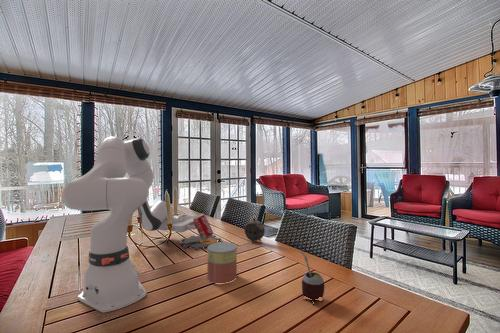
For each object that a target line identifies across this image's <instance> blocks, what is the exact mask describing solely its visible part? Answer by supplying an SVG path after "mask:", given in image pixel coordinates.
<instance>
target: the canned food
mask: <svg viewBox="0 0 500 333" xmlns="http://www.w3.org/2000/svg"><path fill="white" fill-rule="evenodd" d="M237 249H238V248H237V245H236V244H235V243H233V242H230V241H229V242H227V241H219V242H217V243H213V244H210V245H209V246H208V247H207V248H206V250H207V254H206V255H207V260H206V261H207V268H206V269H207V270H206V271H207V273H206V274H207V276H206V277H207V278H208V280H209V281H210V282H213V283H226V282H230V281H232V280H234V279H235V278H236V276H237V269H238V268H237V263H238V262H237V260H238V259H237V255H238V254H237ZM207 278H206V279H207ZM236 279H237V278H236ZM208 280H207V281H208ZM209 281H208V282H209ZM210 282H209V283H210Z"/></svg>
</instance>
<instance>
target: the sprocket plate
mask: <svg viewBox="0 0 500 333" xmlns="http://www.w3.org/2000/svg"><path fill="white" fill-rule="evenodd" d="M215 237H216V238H215ZM217 240H221V241H222V237H220V238H219V237H218V238H217V235H214V234H213V235H212V236H211V237H210V238H208V239H206V240H203V239H201V237H200V235H189V238H188V237H187V238H186V237H185V238H182V239H181V241H179V244H180V245H181V246H183V249H184V248H186V249H185V250H188V249H194V250H195V249H199V250H200V249H204V248H203V247H208V246H209V245H210V244H213V243H217ZM182 241H184V242H182ZM180 245H179V246H180ZM184 245H185V246H184ZM189 247H191V248H189ZM187 248H188V249H187Z"/></svg>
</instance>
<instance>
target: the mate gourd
mask: <svg viewBox="0 0 500 333" xmlns="http://www.w3.org/2000/svg"><path fill="white" fill-rule="evenodd" d="M299 252H300V253H301V254H302V255H303V257H304V261H305V263H306V266H307V270H308V272H306V273H305V274H304V275H303V276H302V279H301V291H302V292H301V293H302V295H303V296H302V297H304V296H306V297H308V298H310V299H312V300H313V302H314V300H315V299H318V298H319V297H322V298H324V297H323V296H324V294H325V280H324V278H323V276H322V275H321V274H320V273H318V272H314V271H313V272H311V267H310V264H309V262H308V257H307V256H306V254H305V253H304V252H303V251H302V249H301V248H300V249H299Z"/></svg>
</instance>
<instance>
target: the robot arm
mask: <svg viewBox="0 0 500 333" xmlns="http://www.w3.org/2000/svg"><path fill="white" fill-rule="evenodd" d="M149 156H150V147H149V145H148V144H147V142H146V141H145V140H144V139H143V138H140V137H139V138H138V137H137V138H132V139H130V140H127V141H126V140H125V141H124V140H123V139H122V138H120V137H118V136H108V137H106V138H104V139H103V140H102V142H101V143H100V145H99V147H98V149H97V152H96V156H95V161H94V164H93V166H92V168H91V169H90V170H89V171H87V173H85V174H83V175H82V176H80V177H78V178H76V179H72V180H70V181H69V182H67V184H65V186H64V188H63V190H62V191H63V192H62V200H63V203H64V205H65V206H66V207H67V208H68V209H69V210H74V211H75V210H76V211H84V212H87V211H88V212H89V211H101V210H102V211H103V210H105V211H106V210H110V214H109V216H107V217H105V218H103V219H101V220H99V221H97V222H96V223H95V224H93V226H91V229H90V231H89V240H90V241H89V245H90V246H89V247H90V248H89V251H88V256H87V257H88V263H89V264H88V266H87V268H86V269H85V271H83V272H84V273H83V283H82V292H81V293H80V294H78V295H77V300H78V301H80V302H81V303H83V304H85V305H87V306H89V307H91V308H93V309H94V310H96V311H98V312H100V313H109V312H113V311H117V310H120V309H122V308H125V307H127V306H130V305H132V304H134V303H136V302H138V301H140V300H142V299H143V298H144V297H146V296H147V291H146V289H145V288H144V286H143V285H142V283H141V281H140V280H139V278H140V277H141V270H139V269H138V270H136V269H135V267H136V265H135V264H134V263H132V261H131V259H130V250H129V246H128V245H127V244H128V243H127V241H128V240H127V239H128V237H127V235H128V227H129V222H130V219H131V218H132V216H133V214H134V213H135V212H136V211H137V213H138V215H139V218H140V223H141V226H142V228H143V229H144V230H146V231H149V232H152V231H153V232H154V231H159V230H160V231H170V230H169V229H168V226H167V224H168V217H167V207H166V202H167V200H164V199H159V200H157V201H156V202H155V203H154V204H153V205H152V206H151V205H150V204H149V202H148V197H149V190H150V188H151V185H152V184H153V182H154V177H155V176H154V172H153V169H152V167H151V165H150V163H149V161H148V160H147V159H148V158H149ZM126 174H127V175H128V176H127V177H126ZM150 206H151V207H150ZM170 211H171V221H172V228H171V229H172V231H171V232H176V233H186V231H189V230H190V231H191V230H197V228H196V225H195V224H194V219H193V218H194V217H195V216H194V215H192V216H191V215H188V214H183V215H181V214H178V215H176V214H173V209H172V207H171V205H170Z"/></svg>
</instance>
